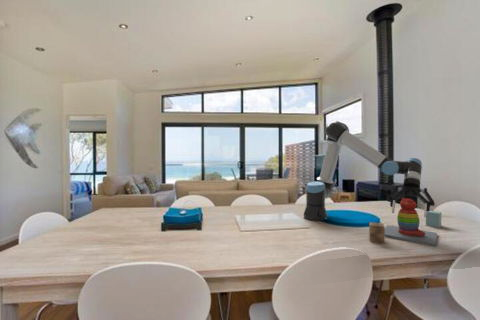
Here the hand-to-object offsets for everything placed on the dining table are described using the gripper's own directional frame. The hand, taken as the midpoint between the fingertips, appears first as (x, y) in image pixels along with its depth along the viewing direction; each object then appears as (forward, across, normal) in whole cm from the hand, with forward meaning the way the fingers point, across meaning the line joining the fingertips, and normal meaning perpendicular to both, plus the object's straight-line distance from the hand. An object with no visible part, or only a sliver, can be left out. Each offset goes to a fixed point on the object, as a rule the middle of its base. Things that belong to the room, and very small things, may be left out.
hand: (408, 213), depth 123 cm
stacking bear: (+6, 0, -9) cm, 11 cm away
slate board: (+7, 0, -10) cm, 12 cm away
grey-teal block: (-15, -9, -32) cm, 37 cm away
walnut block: (+20, +11, +4) cm, 23 cm away
